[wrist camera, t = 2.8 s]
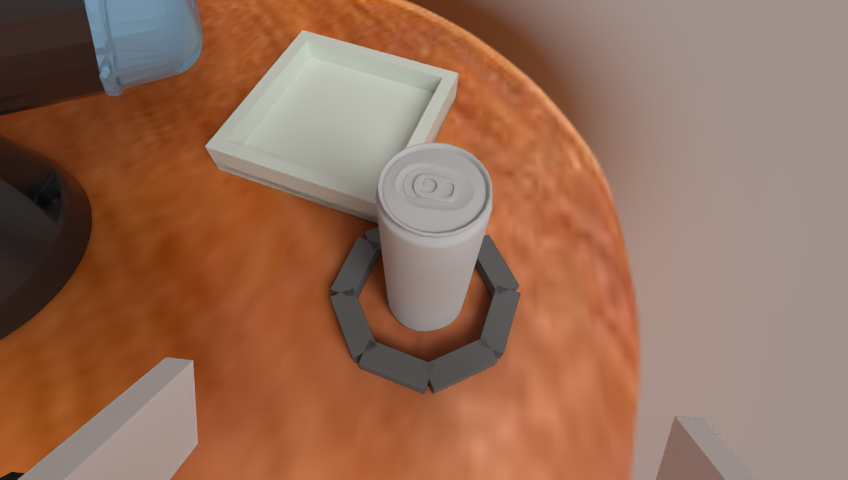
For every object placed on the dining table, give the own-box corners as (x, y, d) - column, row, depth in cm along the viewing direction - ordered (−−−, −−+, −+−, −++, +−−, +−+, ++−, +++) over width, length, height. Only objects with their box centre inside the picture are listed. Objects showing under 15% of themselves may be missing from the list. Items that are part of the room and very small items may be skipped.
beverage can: (398, 257, 29) (392, 129, 18) (469, 273, 28) (504, 152, 18) (378, 325, 26) (357, 223, 16) (454, 343, 26) (485, 251, 15)
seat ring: (307, 347, 25) (302, 341, 24) (380, 205, 31) (379, 195, 29) (482, 417, 24) (486, 414, 23) (529, 255, 29) (533, 246, 28)
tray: (218, 169, 32) (204, 146, 30) (308, 55, 38) (302, 30, 36) (391, 228, 30) (390, 208, 27) (455, 97, 36) (458, 73, 34)
